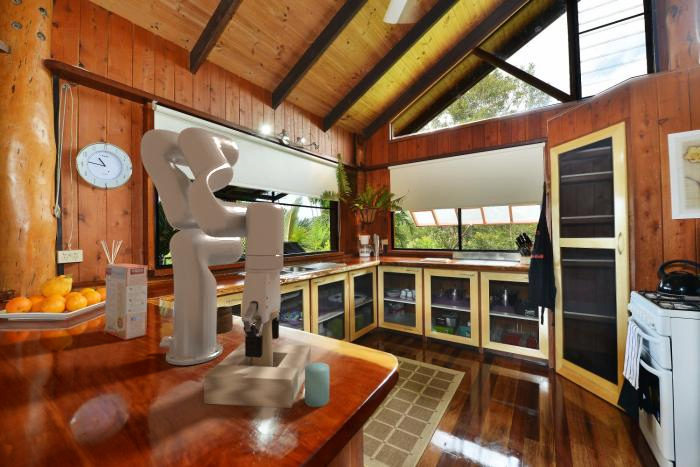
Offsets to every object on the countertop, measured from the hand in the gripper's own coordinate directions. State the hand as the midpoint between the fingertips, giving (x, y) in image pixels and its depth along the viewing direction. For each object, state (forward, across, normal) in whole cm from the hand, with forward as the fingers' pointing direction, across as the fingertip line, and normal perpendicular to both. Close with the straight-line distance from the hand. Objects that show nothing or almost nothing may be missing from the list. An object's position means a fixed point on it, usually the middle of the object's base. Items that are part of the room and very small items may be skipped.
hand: (263, 346), depth 61 cm
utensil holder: (+8, -31, -25) cm, 40 cm away
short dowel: (+7, +5, +12) cm, 15 cm away
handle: (+8, 0, 0) cm, 8 cm away
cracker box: (+8, -25, -52) cm, 58 cm away
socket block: (+7, 0, 0) cm, 7 cm away
